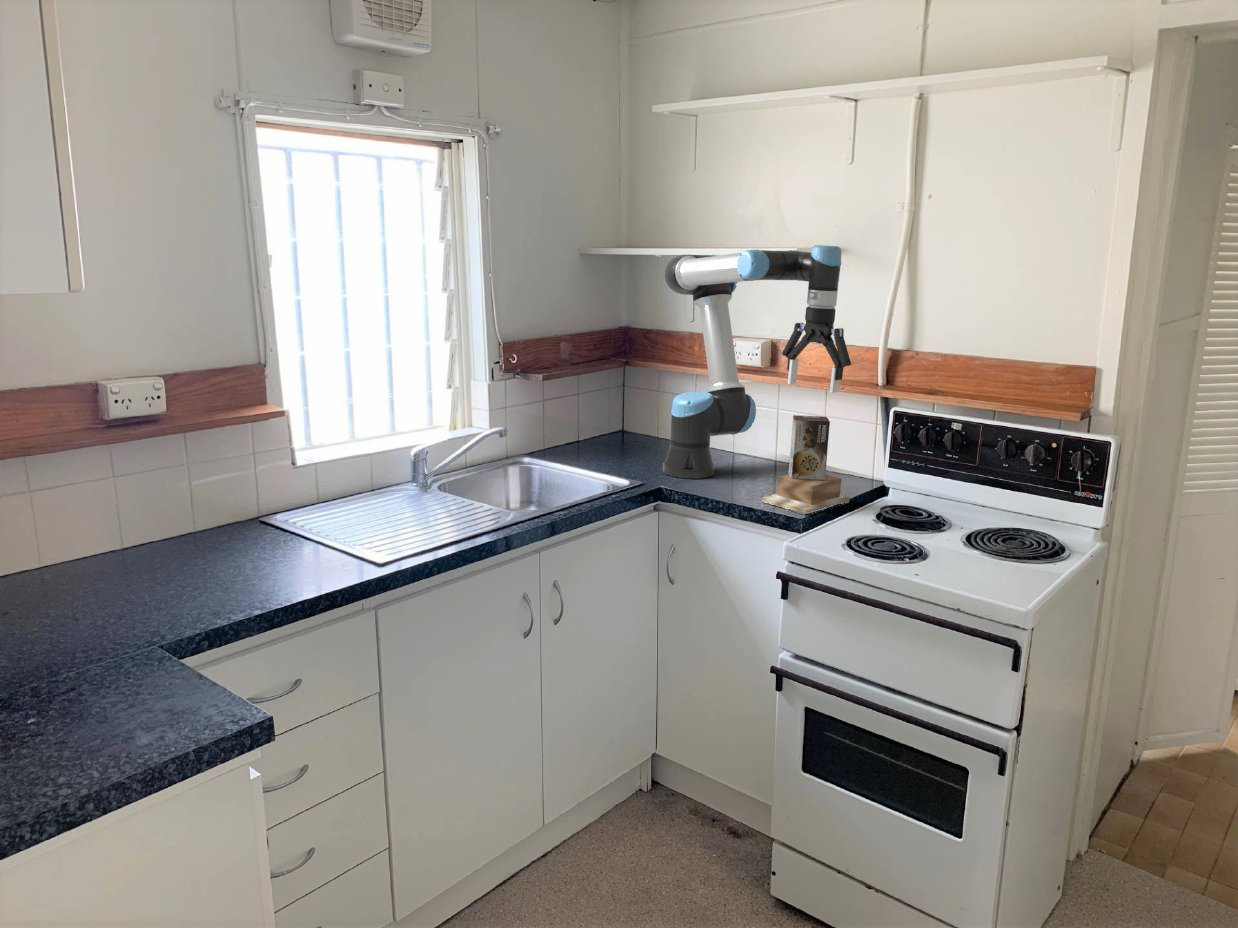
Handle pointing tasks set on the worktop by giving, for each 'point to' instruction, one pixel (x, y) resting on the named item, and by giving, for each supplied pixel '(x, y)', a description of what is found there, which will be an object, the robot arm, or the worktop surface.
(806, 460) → the cookie box
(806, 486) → the base block
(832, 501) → the board
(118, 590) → the worktop surface
